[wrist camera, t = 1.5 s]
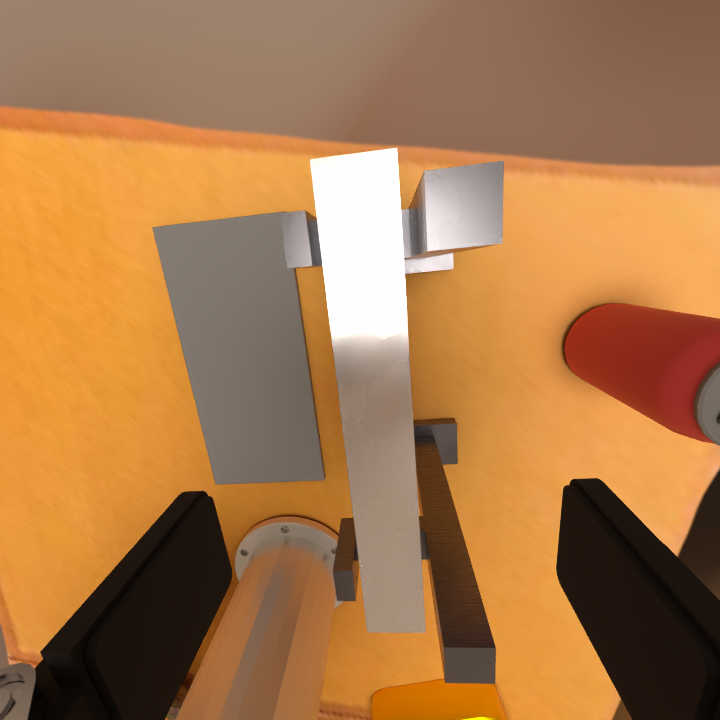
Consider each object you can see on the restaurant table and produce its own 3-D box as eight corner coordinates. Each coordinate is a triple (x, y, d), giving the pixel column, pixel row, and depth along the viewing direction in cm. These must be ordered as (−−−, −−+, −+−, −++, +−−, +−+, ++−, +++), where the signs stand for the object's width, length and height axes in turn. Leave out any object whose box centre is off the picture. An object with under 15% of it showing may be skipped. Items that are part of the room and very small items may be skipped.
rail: (419, 579, 20) (425, 632, 17) (369, 580, 20) (367, 632, 17) (394, 172, 14) (397, 147, 11) (325, 180, 14) (309, 159, 11)
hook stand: (455, 457, 31) (545, 702, 14) (359, 461, 32) (328, 696, 14) (449, 214, 25) (590, 103, 8) (333, 227, 26) (232, 153, 9)
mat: (325, 477, 32) (324, 480, 32) (218, 481, 33) (215, 484, 33) (287, 212, 26) (285, 211, 26) (156, 228, 27) (152, 227, 27)
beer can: (543, 340, 27) (659, 395, 16) (616, 284, 26) (803, 299, 14) (590, 396, 28) (732, 485, 17) (663, 344, 27) (873, 404, 15)
